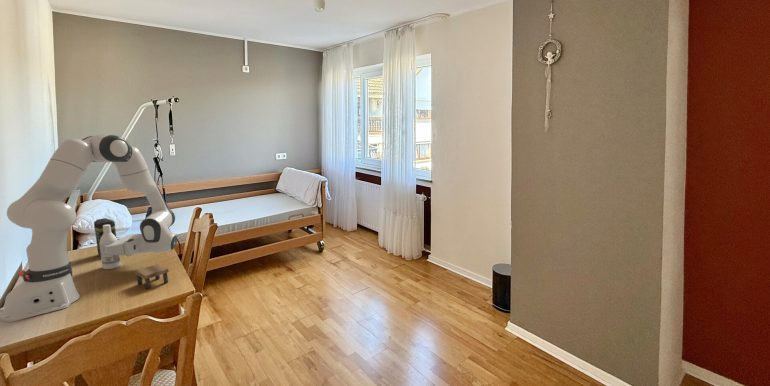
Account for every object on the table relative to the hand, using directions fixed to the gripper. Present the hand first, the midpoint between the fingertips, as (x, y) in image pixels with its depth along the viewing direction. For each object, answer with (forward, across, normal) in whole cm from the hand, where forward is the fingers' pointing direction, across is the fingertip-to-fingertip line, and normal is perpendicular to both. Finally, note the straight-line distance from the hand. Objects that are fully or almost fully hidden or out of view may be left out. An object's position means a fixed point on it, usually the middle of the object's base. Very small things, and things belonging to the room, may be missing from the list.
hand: (106, 244), depth 176 cm
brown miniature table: (-29, +21, +11) cm, 37 cm away
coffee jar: (+10, -18, +11) cm, 23 cm away
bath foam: (-1, 0, +11) cm, 11 cm away
